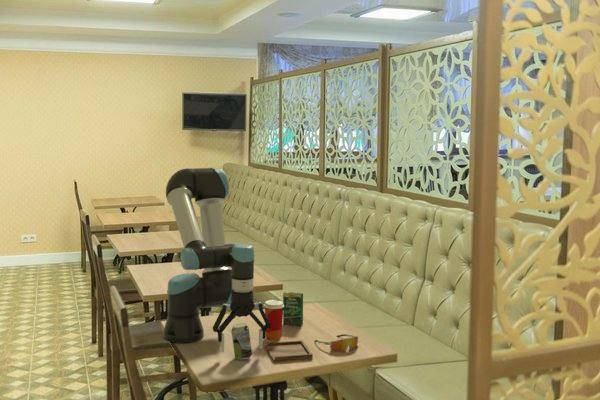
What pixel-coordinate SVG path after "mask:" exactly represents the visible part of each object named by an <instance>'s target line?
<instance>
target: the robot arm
mask: <svg viewBox="0 0 600 400" xmlns="http://www.w3.org/2000/svg"><path fill="white" fill-rule="evenodd" d="M229 185H230V184H229V179H228V176H227V173H226V172H225V171H224V170H223V169H222V168H219V167H217V168H215V167H200V168H182V169H179V170H177V171H175V173H173V174H172V175H171V176H170V177H169V179H168V181H167V184H166V187H165V197H166V201H167V203H168V204H169V206H171V208H172V211H173V216H174V217H175V218H174V219H175V222H176V224H177V229H178V231H179V235H180V239H181V242H182V246H183V249H181V250H180V251H181V252H180V258H179V259H180V264H181V265H180V266H181V267H182V269H183V270H185V271H191V270H192V271H193V270H194V271H197V270H203V271H202V272H201V275H202V276H200V275H199V274H198V273H195V272H192V273H190V272H189V273H181V274H178V275H174V276H173V277H171V278H170V279H169V280H168V283H167V291H166V292H167V318H166V322H165V325H164V327H163V331H162V338H163V339H164V340H165V341H167V342H169V343H174V344H188V343H194V342H197V341H200V340H202V339H203V338H204V336H205V334H204V333H205V332H204V327H203V324H202V320H201V318H200V309H206V308H216V307H221V309H220V312H219V313H218V316H217V317H216V320H215V321H214V324H213V326H212V331H213V332H214V333H217V341H218V342H219V343H220V351H221V353H224V352H225V332H224V331H225V329H226V328H227V327H228V326H229V325H230V323H231V322H232V321H233V320H234V319H235V318H236V317H238V318H240V317H244V318H245V317H247V316H250V317H251V318H252V320H254V321H255V323H256V324H257V325H258V327H259V329H258V347H259V349H260V350H263V341H264V340H266V329H268V328H269V329H270V328H271V325H270V323H269V321H268V319H267V317H266V315H265V310H264V305H263V303H262V302H261V301H260V300H259V301H258V302H254V290H253V289H254V278H255V277H254V275H255V274H254V272H255V271H254V270H255V269H254V267H255V249H254V246H253V245H251V244H248V243H239V244H235V243H232V242H227V243H226V236H225V228H224V227H225V226H224V225H225V224H224V217H223V207H222V206H223V204H224V202H226V197H228V196H229V194H230V193H229V192H230V186H229ZM192 199H194V203H195V205H196V206H198V207H199V212H200V213H199V214H200V223H199V220H198V217H197V213H196V210H195V208H194V204H193V201H192ZM200 224H201V226H200ZM255 308H256V309H257V310H258V312H259V313H260V315H261V317H262V319H263V322H264V323H262V321H261V320H260V319H259V318H258V317H257V316H256V314H255V313H254V312H253V309H255ZM229 309H230V310H231V311H230V313H229V315H228V316H227V317H226V319H225V320H224V321H223V319H224V317H225V315H226V312H227V311H228V310H229ZM222 321H223V322H222ZM265 324H266V325H265Z"/></svg>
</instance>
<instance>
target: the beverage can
mask: <svg viewBox="0 0 600 400" xmlns="http://www.w3.org/2000/svg"><path fill="white" fill-rule="evenodd" d="M231 337H232V338H231V339H232V345H233V353H234V358H236V359H237V360H246V359H249V358H251V356H252V355H253V352H252V351H253V350H252V344H251V343H252V341H251V335H250V329H249V326H248V325H247V323H245V322H242V323H241V322H240V323H236V324H233V325H232V328H231Z"/></svg>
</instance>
